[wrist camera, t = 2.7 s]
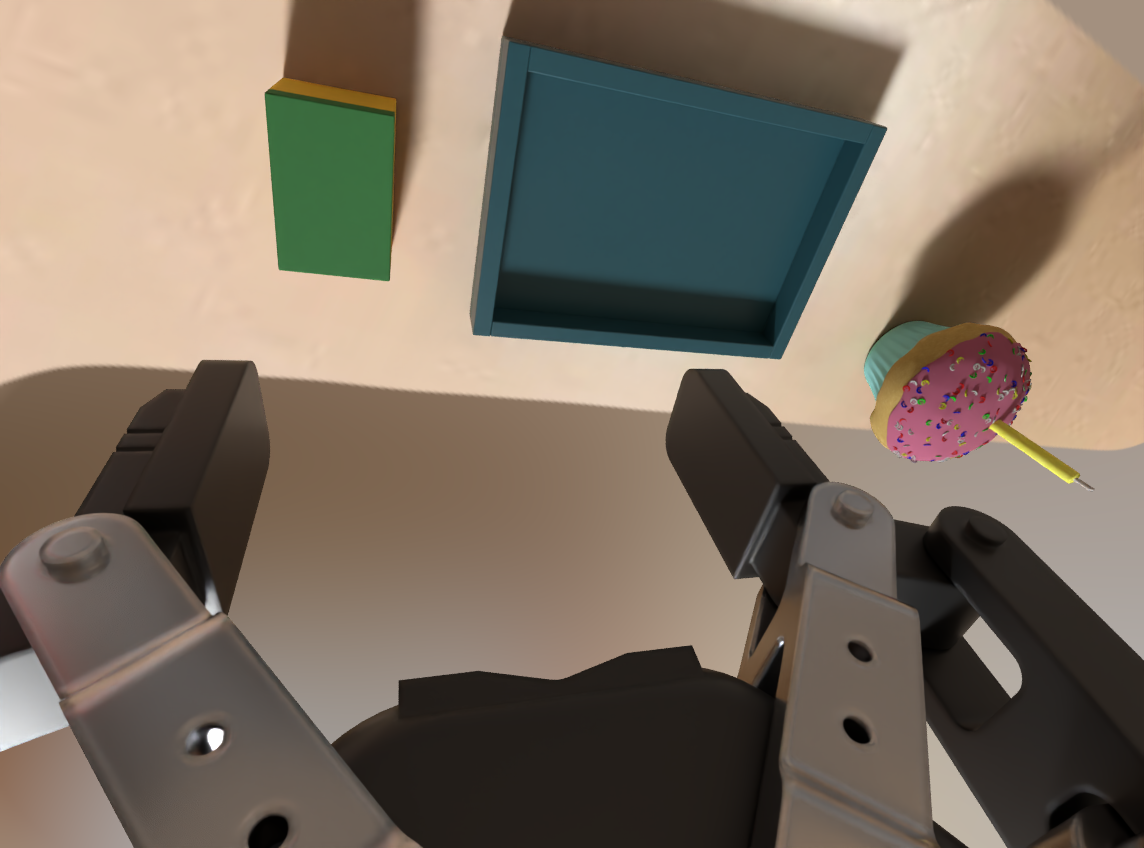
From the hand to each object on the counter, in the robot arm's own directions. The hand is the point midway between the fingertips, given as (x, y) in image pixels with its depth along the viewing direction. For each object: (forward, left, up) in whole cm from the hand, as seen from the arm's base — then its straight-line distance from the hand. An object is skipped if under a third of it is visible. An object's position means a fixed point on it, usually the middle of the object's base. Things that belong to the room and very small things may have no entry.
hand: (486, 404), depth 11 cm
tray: (+10, -1, -17) cm, 20 cm away
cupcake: (+28, -7, -17) cm, 34 cm away
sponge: (-4, -1, -17) cm, 18 cm away
